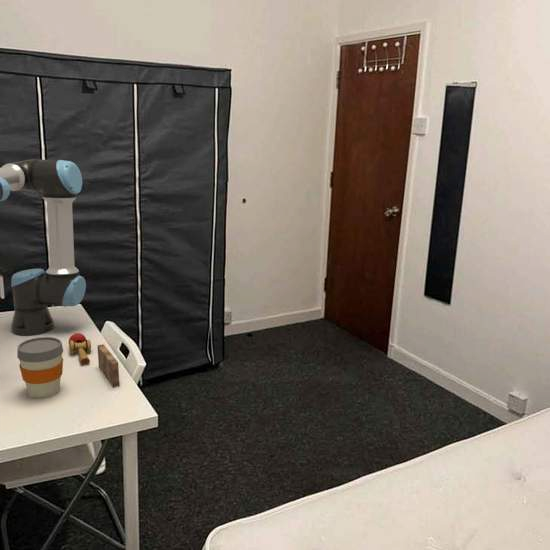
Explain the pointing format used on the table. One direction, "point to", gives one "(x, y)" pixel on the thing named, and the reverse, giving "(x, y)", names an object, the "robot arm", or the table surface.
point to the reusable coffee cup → (41, 365)
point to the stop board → (108, 365)
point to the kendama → (80, 347)
